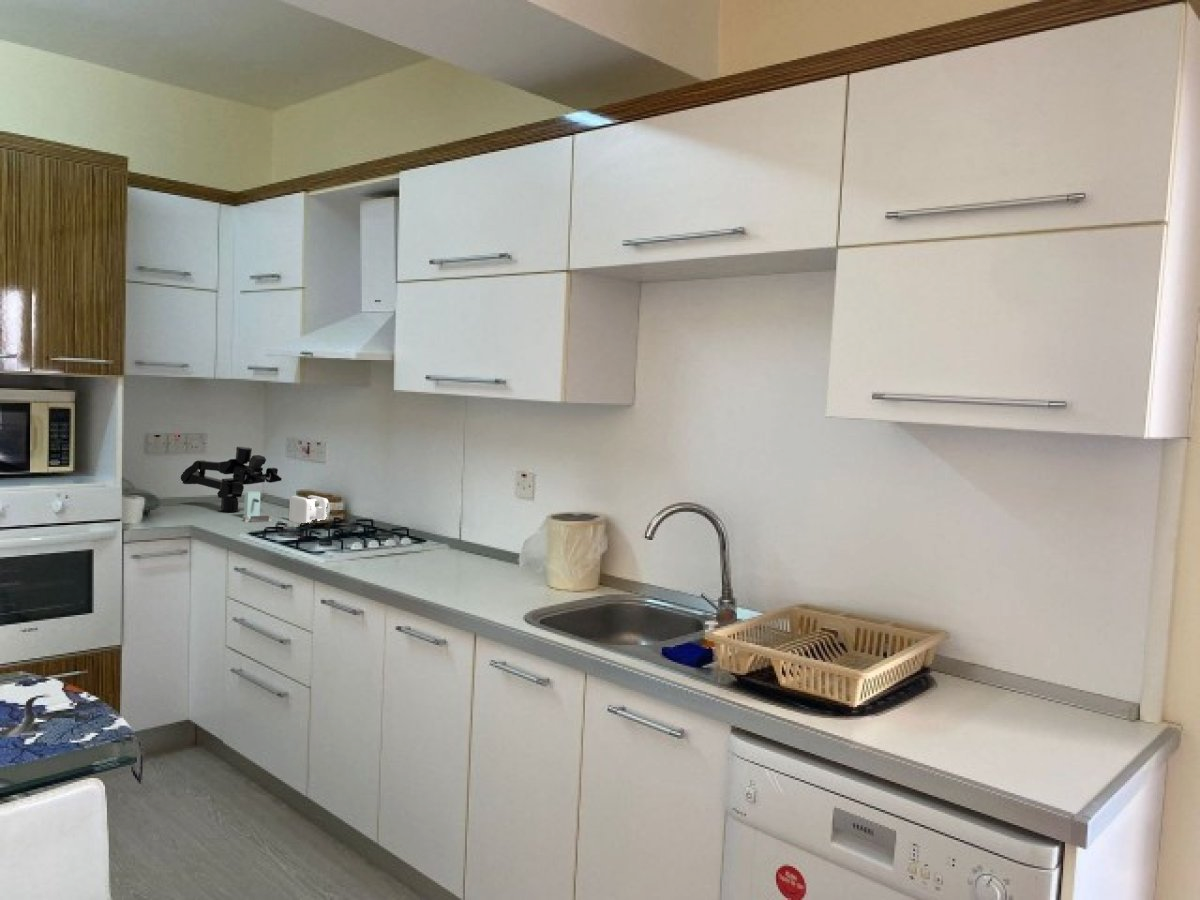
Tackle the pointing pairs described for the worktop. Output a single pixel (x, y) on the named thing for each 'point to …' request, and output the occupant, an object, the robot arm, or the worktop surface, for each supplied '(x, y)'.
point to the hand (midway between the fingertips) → (273, 480)
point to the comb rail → (258, 518)
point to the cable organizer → (307, 509)
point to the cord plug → (252, 504)
